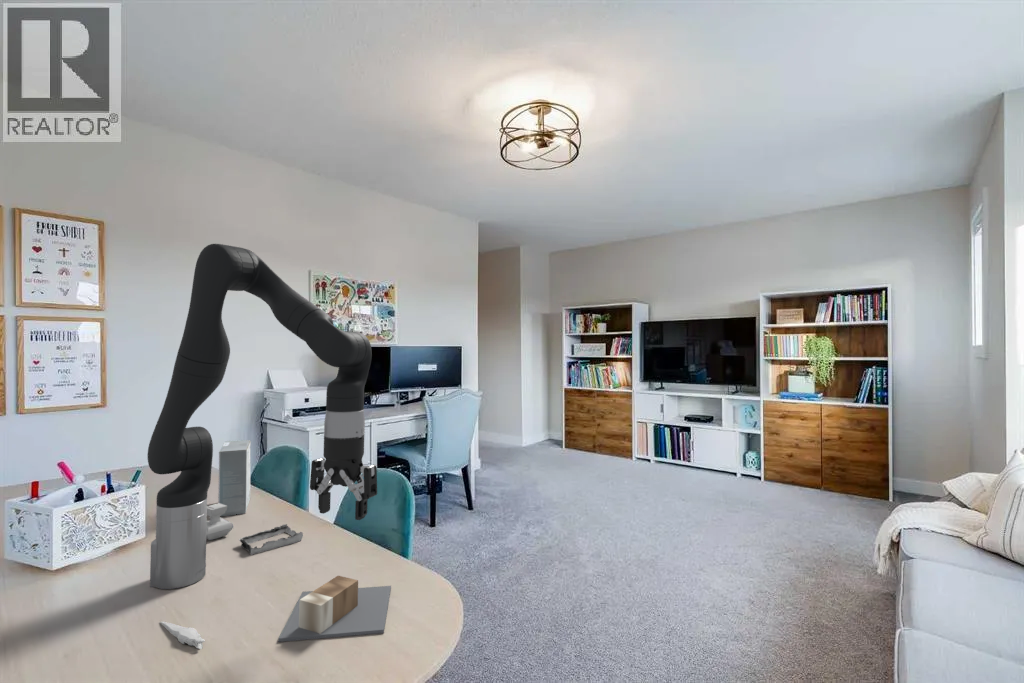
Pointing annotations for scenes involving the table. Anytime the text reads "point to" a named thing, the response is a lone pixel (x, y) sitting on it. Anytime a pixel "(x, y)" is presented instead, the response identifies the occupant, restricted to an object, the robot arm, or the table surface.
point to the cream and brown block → (328, 604)
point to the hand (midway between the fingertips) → (342, 515)
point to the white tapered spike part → (185, 634)
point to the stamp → (217, 522)
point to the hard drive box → (234, 476)
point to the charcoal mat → (346, 617)
